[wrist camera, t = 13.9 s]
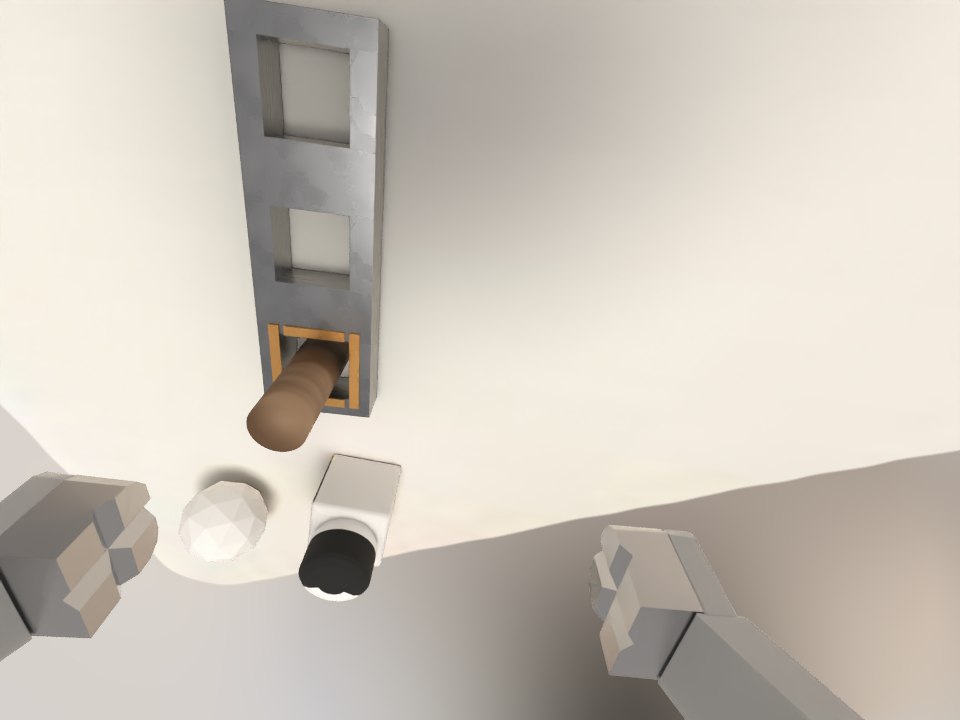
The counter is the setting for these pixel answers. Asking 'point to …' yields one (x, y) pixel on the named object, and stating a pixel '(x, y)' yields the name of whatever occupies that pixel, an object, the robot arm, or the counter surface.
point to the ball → (223, 521)
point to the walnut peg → (298, 395)
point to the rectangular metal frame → (312, 190)
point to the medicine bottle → (348, 527)
